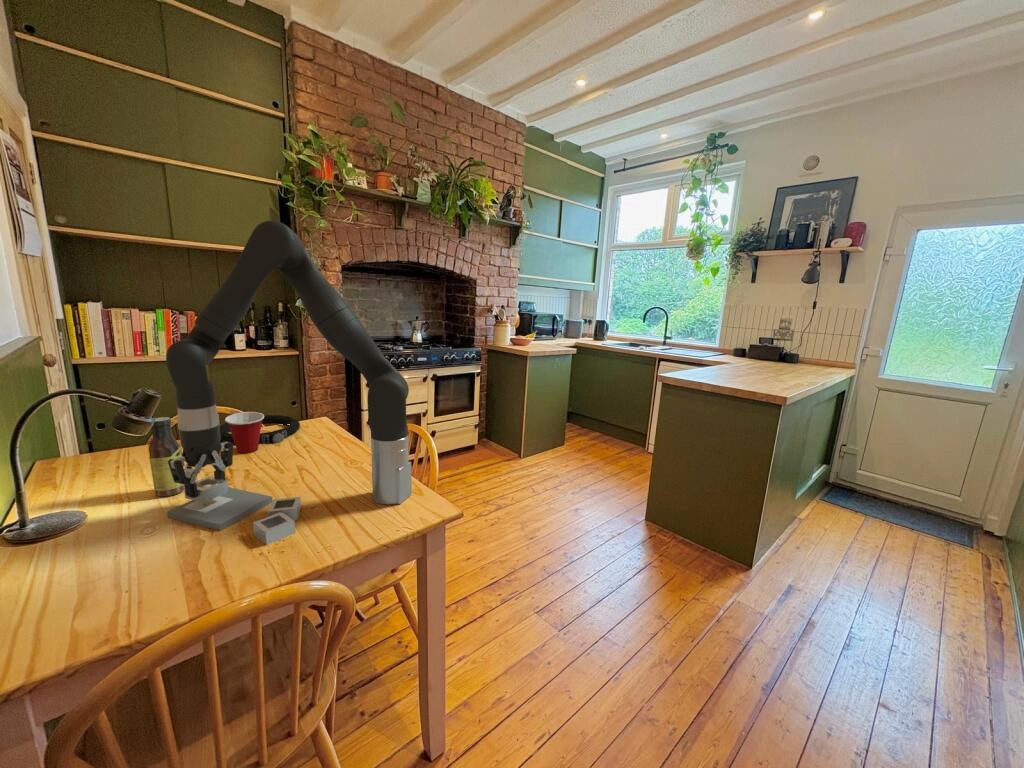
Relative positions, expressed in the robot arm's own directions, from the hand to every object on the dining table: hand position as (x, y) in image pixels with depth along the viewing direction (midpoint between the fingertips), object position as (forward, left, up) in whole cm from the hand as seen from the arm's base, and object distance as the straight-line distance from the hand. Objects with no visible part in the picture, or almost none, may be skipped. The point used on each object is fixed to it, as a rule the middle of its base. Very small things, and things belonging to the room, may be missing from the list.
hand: (207, 490), depth 98 cm
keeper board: (-3, -1, -5) cm, 6 cm away
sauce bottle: (+17, -3, -5) cm, 18 cm away
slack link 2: (-23, +3, -5) cm, 24 cm away
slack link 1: (-19, -4, -5) cm, 20 cm away
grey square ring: (0, 0, -1) cm, 1 cm away
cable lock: (+35, -47, -5) cm, 59 cm away
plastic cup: (+24, -32, -5) cm, 40 cm away
